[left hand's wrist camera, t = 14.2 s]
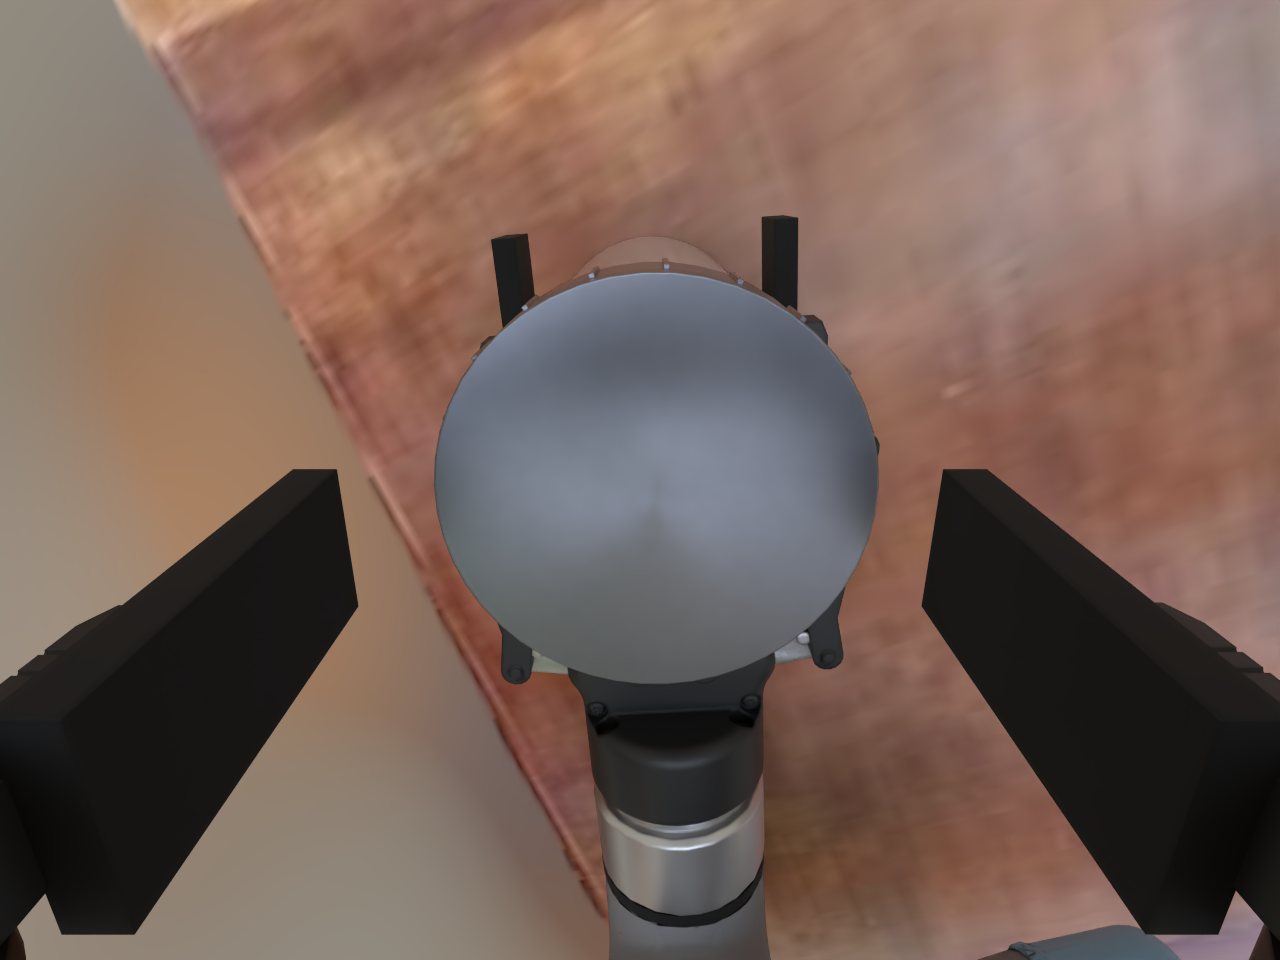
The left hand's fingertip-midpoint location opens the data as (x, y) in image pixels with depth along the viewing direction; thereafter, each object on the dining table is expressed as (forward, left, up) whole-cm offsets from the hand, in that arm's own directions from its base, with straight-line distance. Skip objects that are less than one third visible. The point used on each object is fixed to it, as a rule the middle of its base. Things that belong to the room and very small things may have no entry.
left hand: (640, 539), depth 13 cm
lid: (0, 0, -2) cm, 2 cm away
